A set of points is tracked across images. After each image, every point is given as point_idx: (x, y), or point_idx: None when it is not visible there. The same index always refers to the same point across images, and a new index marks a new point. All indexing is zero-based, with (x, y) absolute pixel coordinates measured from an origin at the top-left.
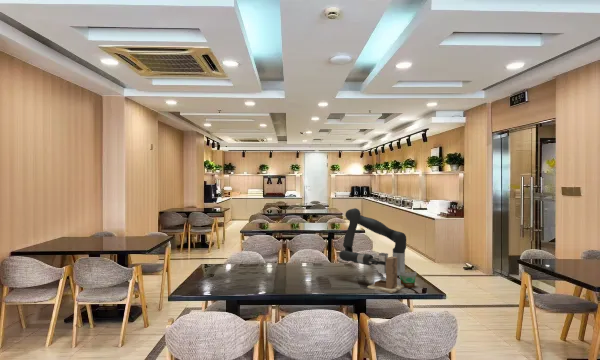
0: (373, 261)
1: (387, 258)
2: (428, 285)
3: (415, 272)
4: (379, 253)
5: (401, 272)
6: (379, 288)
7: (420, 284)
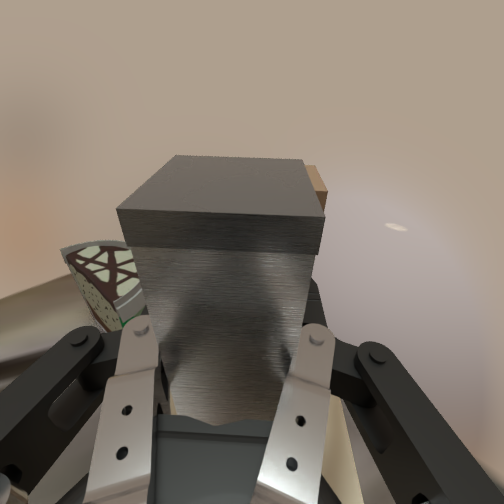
0: (441, 431)
1: (324, 186)
2: (70, 277)
3: (101, 240)
4: (292, 211)
5: (132, 290)
6: (335, 444)
7: (56, 303)
